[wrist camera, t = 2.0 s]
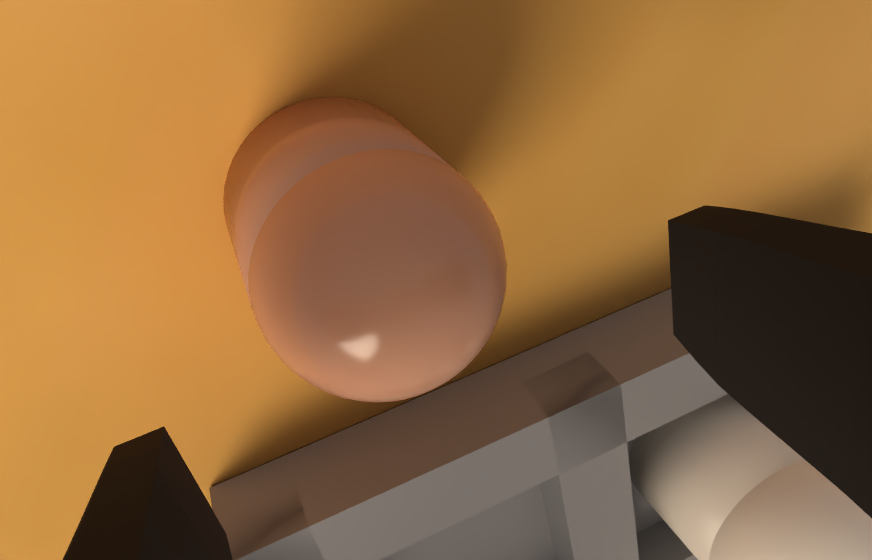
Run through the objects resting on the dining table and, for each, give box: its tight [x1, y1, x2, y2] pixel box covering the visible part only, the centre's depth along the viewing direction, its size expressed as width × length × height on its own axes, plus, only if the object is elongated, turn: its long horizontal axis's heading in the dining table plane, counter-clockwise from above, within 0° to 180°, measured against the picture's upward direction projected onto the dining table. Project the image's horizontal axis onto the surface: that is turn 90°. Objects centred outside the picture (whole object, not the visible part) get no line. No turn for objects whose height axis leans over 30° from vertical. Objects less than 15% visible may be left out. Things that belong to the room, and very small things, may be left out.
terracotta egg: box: [223, 97, 507, 402], centre depth 13 cm, size 4×4×6 cm
